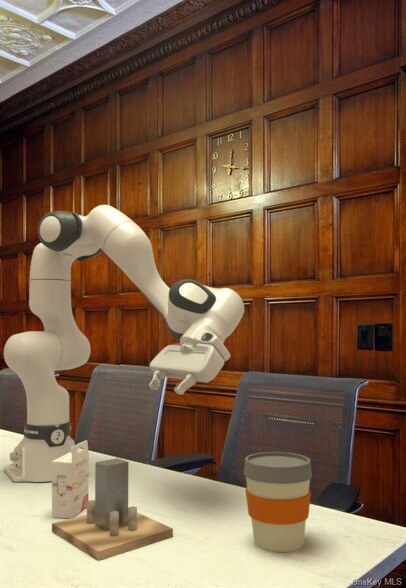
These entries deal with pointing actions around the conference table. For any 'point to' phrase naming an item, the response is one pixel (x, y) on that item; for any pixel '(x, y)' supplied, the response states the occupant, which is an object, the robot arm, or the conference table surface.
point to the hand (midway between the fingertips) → (164, 390)
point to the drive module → (111, 492)
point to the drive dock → (109, 543)
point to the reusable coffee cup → (278, 499)
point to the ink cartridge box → (70, 482)
